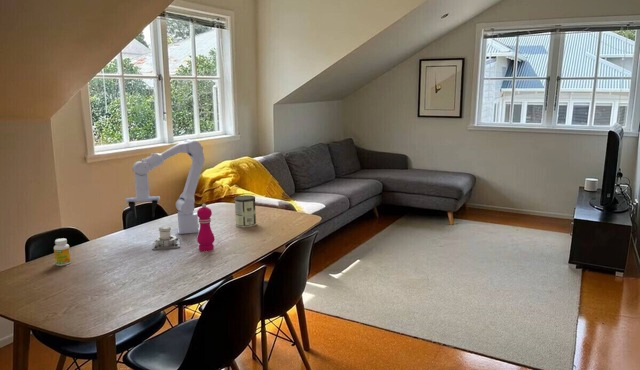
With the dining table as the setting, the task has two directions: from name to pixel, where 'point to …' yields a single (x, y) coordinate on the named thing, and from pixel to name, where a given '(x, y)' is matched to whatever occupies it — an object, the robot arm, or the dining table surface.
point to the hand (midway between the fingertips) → (144, 217)
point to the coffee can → (245, 211)
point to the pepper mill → (205, 229)
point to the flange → (166, 243)
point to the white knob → (165, 233)
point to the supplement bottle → (62, 252)
